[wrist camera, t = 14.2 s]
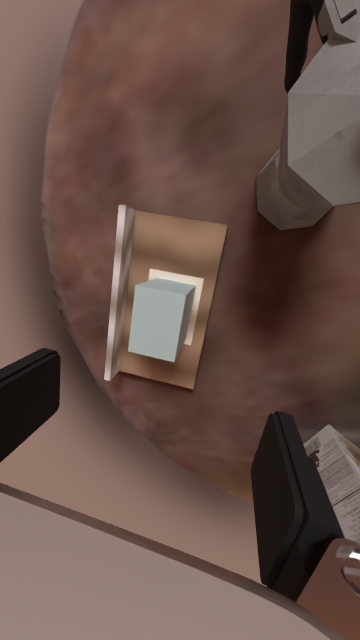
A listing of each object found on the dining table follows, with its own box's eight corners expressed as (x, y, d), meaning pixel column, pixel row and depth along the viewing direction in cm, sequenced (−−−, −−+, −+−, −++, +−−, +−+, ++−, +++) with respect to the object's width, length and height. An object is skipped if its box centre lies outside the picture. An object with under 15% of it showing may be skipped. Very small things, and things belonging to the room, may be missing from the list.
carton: (196, 285, 30) (186, 295, 22) (186, 336, 32) (174, 362, 24) (156, 277, 30) (133, 284, 23) (149, 328, 32) (126, 350, 25)
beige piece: (133, 212, 31) (117, 204, 26) (227, 227, 29) (227, 221, 25) (118, 363, 37) (102, 379, 32) (194, 382, 36) (190, 401, 31)
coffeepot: (361, 220, 27) (605, 156, 10) (278, 261, 29) (354, 268, 12) (307, 80, 24) (501, -333, 7) (223, 138, 27) (220, -66, 10)
